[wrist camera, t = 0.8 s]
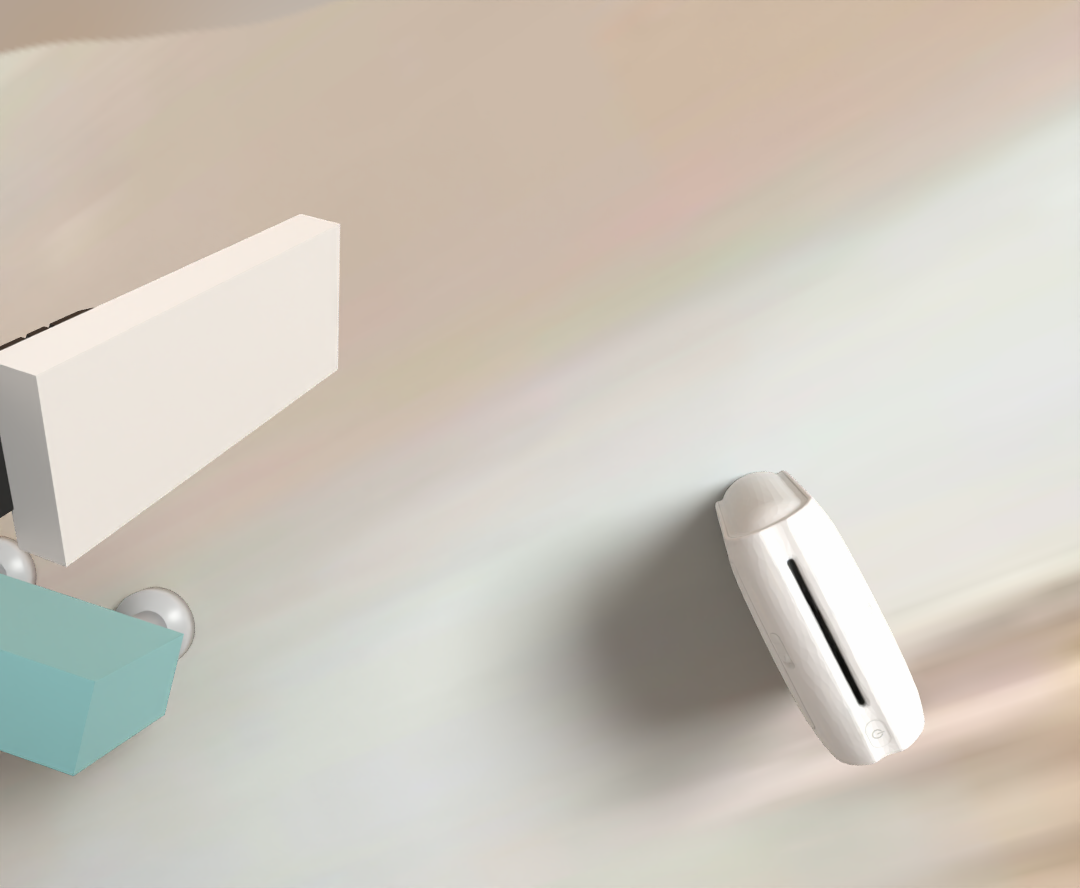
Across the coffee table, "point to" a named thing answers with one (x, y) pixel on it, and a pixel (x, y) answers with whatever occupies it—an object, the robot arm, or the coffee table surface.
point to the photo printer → (819, 619)
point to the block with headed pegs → (81, 666)
